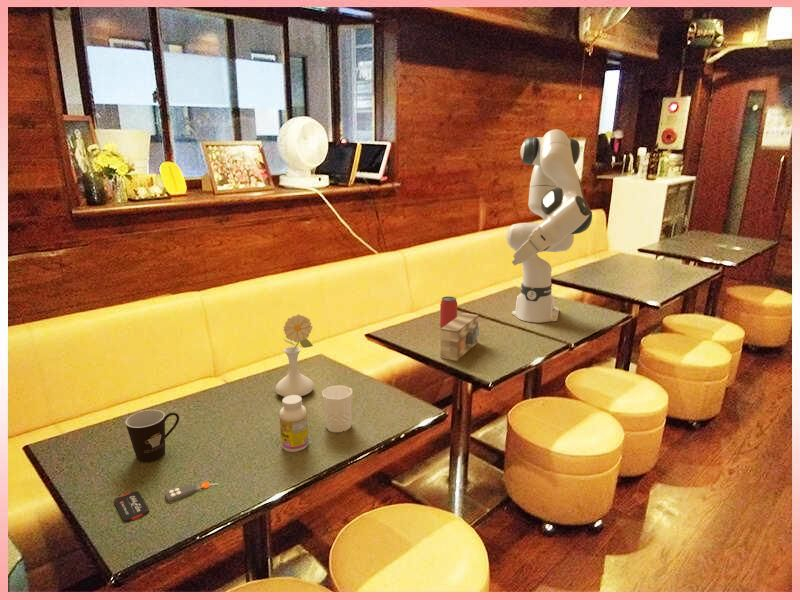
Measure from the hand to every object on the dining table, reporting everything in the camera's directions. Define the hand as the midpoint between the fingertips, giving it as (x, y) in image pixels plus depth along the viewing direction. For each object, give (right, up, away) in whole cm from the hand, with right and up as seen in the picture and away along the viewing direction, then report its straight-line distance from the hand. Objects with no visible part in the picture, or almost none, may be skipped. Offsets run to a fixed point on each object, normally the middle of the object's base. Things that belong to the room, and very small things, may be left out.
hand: (514, 263), depth 189 cm
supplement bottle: (-65, -49, -50) cm, 95 cm away
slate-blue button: (-12, -25, +12) cm, 31 cm away
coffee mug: (-98, -50, -53) cm, 122 cm away
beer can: (-20, -23, +31) cm, 44 cm away
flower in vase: (-69, -40, -22) cm, 83 cm away
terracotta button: (-19, -29, +1) cm, 34 cm away
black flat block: (-95, -56, -72) cm, 132 cm away
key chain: (-83, -55, -66) cm, 119 cm away
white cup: (-55, -46, -41) cm, 83 cm away
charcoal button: (-14, -27, +6) cm, 31 cm away
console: (-18, -30, +9) cm, 36 cm away
